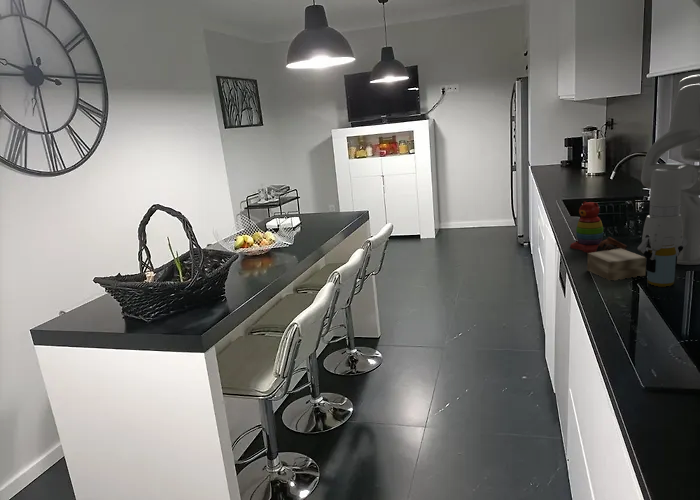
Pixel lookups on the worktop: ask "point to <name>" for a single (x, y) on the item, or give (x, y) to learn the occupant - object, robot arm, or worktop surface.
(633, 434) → the worktop surface
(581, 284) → the worktop surface
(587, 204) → the stacking bear
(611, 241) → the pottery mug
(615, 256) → the chopping block
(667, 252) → the bottle
